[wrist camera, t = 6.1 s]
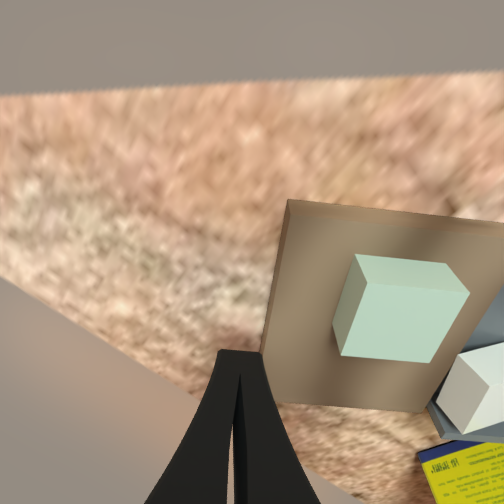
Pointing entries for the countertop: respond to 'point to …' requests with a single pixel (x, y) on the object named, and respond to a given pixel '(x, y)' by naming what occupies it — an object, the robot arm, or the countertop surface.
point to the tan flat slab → (330, 289)
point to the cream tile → (475, 389)
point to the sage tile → (396, 308)
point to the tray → (485, 334)
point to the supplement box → (465, 472)
